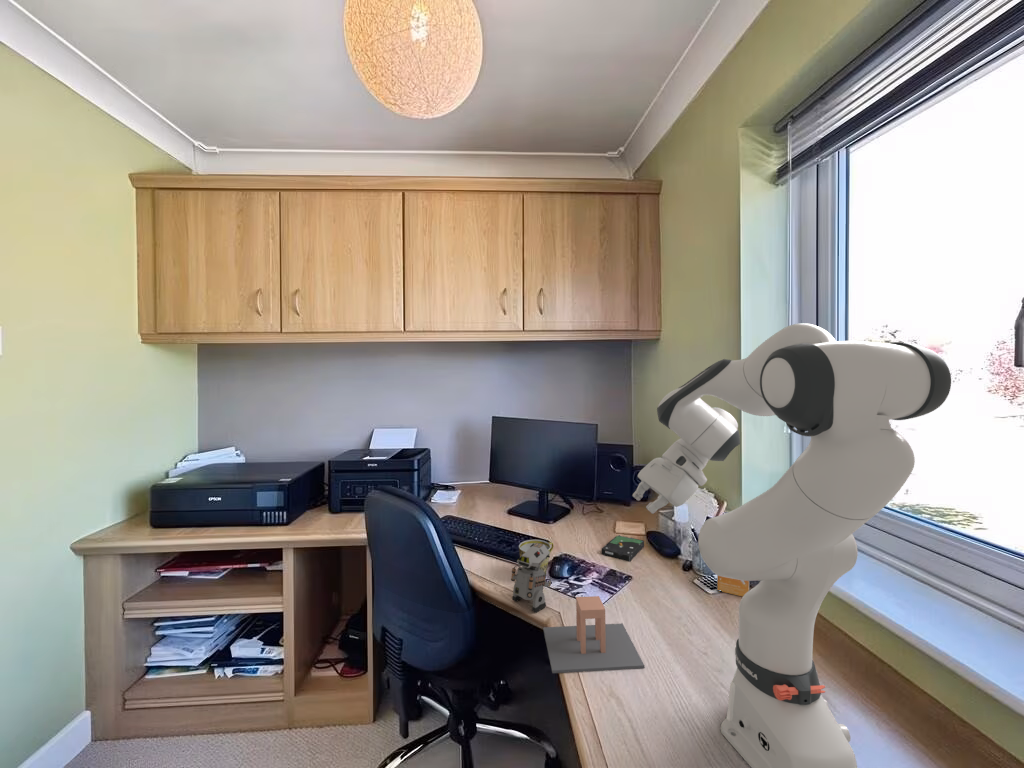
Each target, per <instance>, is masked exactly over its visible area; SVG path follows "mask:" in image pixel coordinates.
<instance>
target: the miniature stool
mask: <svg viewBox="0 0 1024 768" xmlns="http://www.w3.org/2000/svg"><path fill="white" fill-rule="evenodd" d="M575 606H576V607H575V609H576V610H575V611H576V612H575V614H576V615H575V616H576V617H575V618H576V619H575V620H576V622H575V623H576V625H575V626H576V628H577V641H580V643H581V654H586V625H587V622H586V620H588V619H589V620H591V619H594V625H595V638H596V640H600V651H601V653H606V634H605V624H606V607H605V606H604V603H603V601H602V600H601V597H600V596H599V595H597V596H596V595H593V596H576V597H575Z"/></svg>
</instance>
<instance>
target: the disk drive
mask: <svg viewBox="0 0 1024 768" xmlns="http://www.w3.org/2000/svg"><path fill="white" fill-rule="evenodd" d="M644 547H645V540H642V539H639V538H633V537H627V536H623V535H620V534H618V535H616V536H614V537H613V538H612V539H611V540H610V541H609V542H607V543H606V544H605V545H604V546H602V547H601V555H602V556H606V557H610V558H612V559H618V560H620V561H625V562H629V563H630V562H631V561H632V560H633V559H634V558H635V557H636V556H637V555H638V554H639V553H640V552H641V551H642V550H643V548H644Z"/></svg>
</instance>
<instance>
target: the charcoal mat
mask: <svg viewBox="0 0 1024 768" xmlns="http://www.w3.org/2000/svg"><path fill="white" fill-rule="evenodd" d="M542 628H543V635H544V639H545V644H546V649H547V655H548V659H549V663H550V668H551V673H552V674H565V673H566V674H567V673H581V672H583V671H585V672H600V671H616V670H617V671H618V670H635V669H645V664H644V662H643V660H642V658H641V656H640V654H639V652H638V650H637V649H636V647H635V645H634V642H633V641H632V639H631V637H630V634H629V633H628V631H627V629H626V627H625V626H624V624H623V623H607V624H606V623H605V634H606V653H601V651H600V640H596V638H595V624H589V625H587V624H586V654H581V643H580V641H577V628H576V625H569V626H568V625H567V626H547V627H546V626H545V627H542Z"/></svg>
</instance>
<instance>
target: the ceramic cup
mask: <svg viewBox="0 0 1024 768" xmlns="http://www.w3.org/2000/svg"><path fill="white" fill-rule="evenodd" d="M533 543H534V544H535V543H540V544H544V545H545V547H546V548H547V549H548V551H549V552H550V554H549V556H550V555H551V553H552V551H553V550H554V543H553V542H552V541H545V540H542V539H528V540H523V541H521V542H520V543H519V544H518V552H519V558H520V557H521V556H522V555H523V554H524V553H525V552H526V551H527V550H529V549H530V548H531V547H530V546H531V545H532V544H533ZM550 557H551V556H550ZM549 560H550V558H549V557H547V558H546V559H545V560H544V561H543V562H542V563H541V566H540V570H543V571H544V572H545V573H546V574H547V570H548V566H549V565H548V564H549ZM521 567H523V566H521Z"/></svg>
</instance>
